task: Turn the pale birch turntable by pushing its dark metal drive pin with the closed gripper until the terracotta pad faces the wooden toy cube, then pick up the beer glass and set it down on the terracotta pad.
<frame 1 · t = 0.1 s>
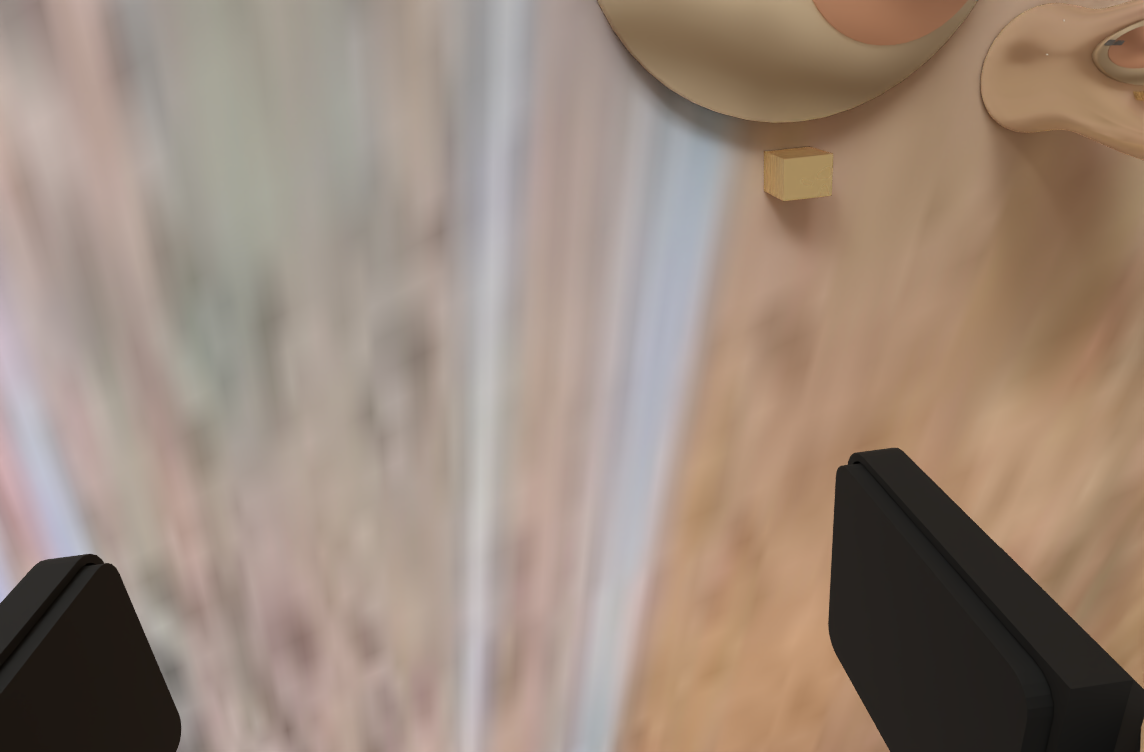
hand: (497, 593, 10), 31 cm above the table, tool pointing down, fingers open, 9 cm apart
beer glass: (1034, 69, 38), on the table
wooden toy cube: (786, 168, 39), on the table
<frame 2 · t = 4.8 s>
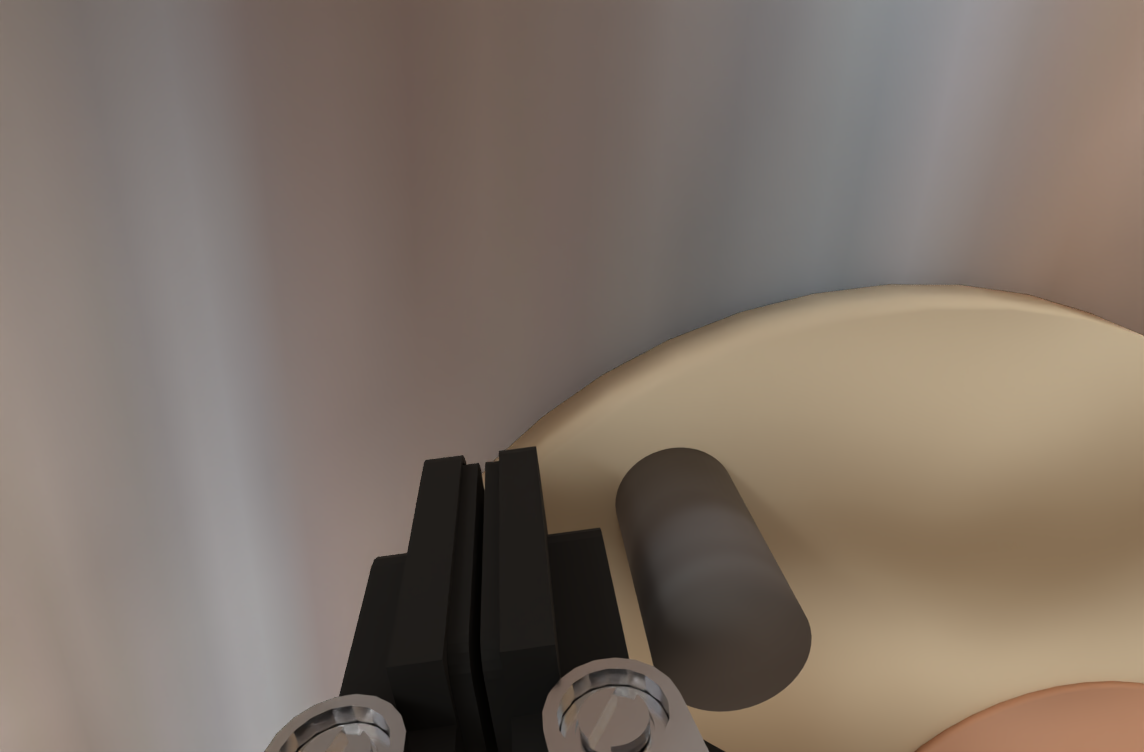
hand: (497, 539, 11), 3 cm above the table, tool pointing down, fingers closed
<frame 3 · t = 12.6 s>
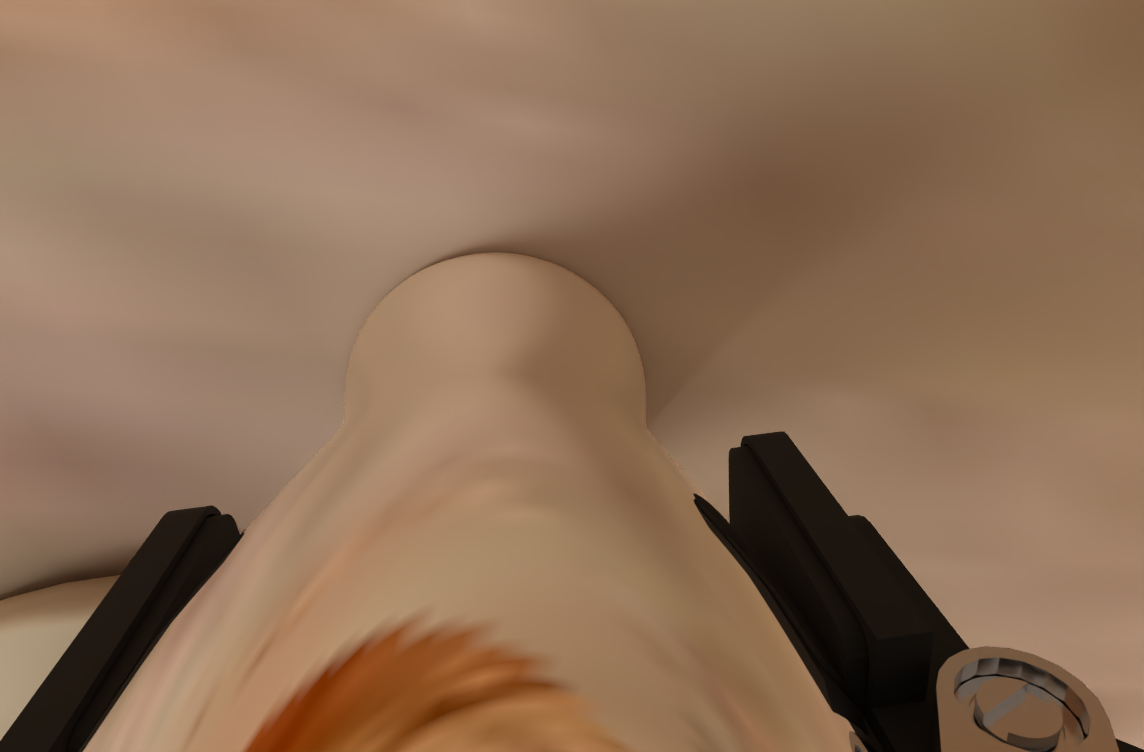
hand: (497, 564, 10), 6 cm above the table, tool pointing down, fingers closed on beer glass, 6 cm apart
beer glass: (498, 389, 16), on the table, touching gripper
when the fingers open (9 cm above the table, at t = 17.4 s): beer glass drops 1 cm, resting on turntable.
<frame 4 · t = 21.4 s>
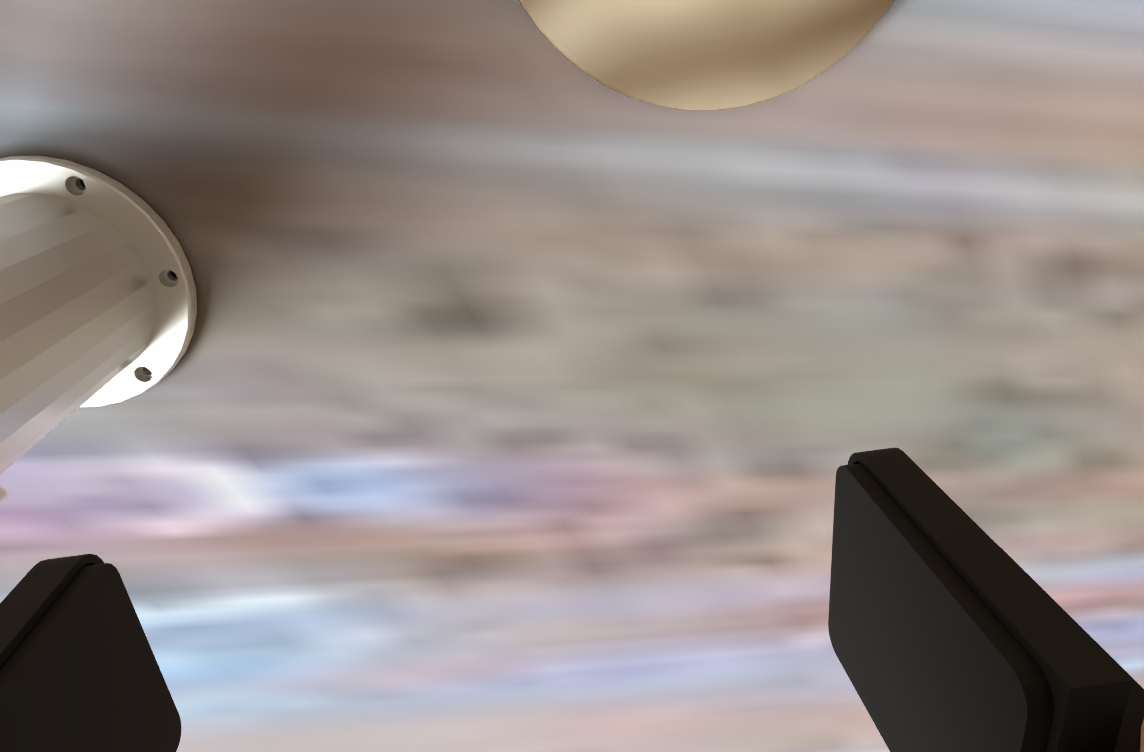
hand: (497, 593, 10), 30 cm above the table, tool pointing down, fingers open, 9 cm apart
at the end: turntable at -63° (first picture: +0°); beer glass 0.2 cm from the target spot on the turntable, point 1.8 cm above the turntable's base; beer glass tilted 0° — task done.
